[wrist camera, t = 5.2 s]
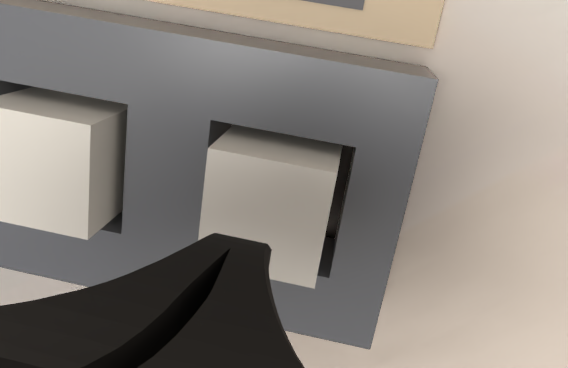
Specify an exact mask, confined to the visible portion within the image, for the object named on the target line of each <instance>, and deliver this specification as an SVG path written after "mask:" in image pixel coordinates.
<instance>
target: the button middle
mask: <svg viewBox="0 0 568 368" xmlns="http://www.w3.org/2000/svg"><path fill="white" fill-rule="evenodd" d="M127 111H128V104H123V103H118V102H112V101H107V100H102V99H97V98H91V97H86V96H81V95H75V94H70V93H65V92H59V91H54V90H49V89H43V88H38V87H31V88H27V89H23V90H19V91H15V92H11V93H7V94H3V95H0V221H1V222H6V223H11V224H15V225H20V226H25V227H29V228H34V229H39V230H43V231H48V232H53V233H57V234H62V235H67V236H71V237H76V238H81V239H85V240H88V239H90V238H91V237H92V236H93V235H94V234H95V233H97V232H98V231H99V230H100V229H101V228H103V227H104V226H105V225H106V224H107V223H108V222H110V221H111V220H112V219H113V218H114V217H116V216H117V215H118V214H119V213H120V212H121V211H123V192H124V172H125V152H126V131H127Z"/></svg>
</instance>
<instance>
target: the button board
mask: <svg viewBox="0 0 568 368" xmlns="http://www.w3.org/2000/svg"><path fill="white" fill-rule="evenodd" d="M437 83H438V78H437V77H436V76H435V75H434V74H433V73H432V72H431V71H430V70H429V69H428V67H425V66H419V65H413V64H407V63H401V62H396V61H390V60H384V59H378V58H372V57H367V56H361V55H355V54H349V53H343V52H338V51H332V50H326V49H320V48H314V47H308V46H303V45H297V44H291V43H285V42H279V41H274V40H268V39H262V38H256V37H250V36H245V35H239V34H233V33H227V32H221V31H216V30H210V29H204V28H198V27H192V26H187V25H181V24H175V23H169V22H163V21H158V20H152V19H146V18H140V17H134V16H129V15H123V14H117V13H111V12H105V11H100V10H94V9H88V8H82V7H76V6H71V5H65V4H59V3H53V2H47V1H41V0H0V95H3V94H7V93H11V92H15V91H19V90H23V89H27V88H31V87H38V88H43V89H49V90H55V91H60V92H65V93H70V94H76V95H81V96H86V97H92V98H97V99H102V100H108V101H113V102H118V103H124V104H128V111H127V131H126V152H125V172H124V192H123V211H121V212H120V213H119V214H118V215H117V216H116V217H114V218H113V219H112V220H111V221H110V222H108V223H107V224H106V225H105V226H104V227H103V228H101V229H100V230H99V231H98V232H97V233H95V234H94V235H93V236H92V237H91V238H90V239H88V240H85V239H81V238H76V237H71V236H67V235H62V234H57V233H53V232H48V231H43V230H39V229H34V228H29V227H25V226H20V225H15V224H11V223H6V222H1V221H0V267H2V268H7V269H11V270H16V271H20V272H25V273H29V274H34V275H38V276H43V277H47V278H51V279H56V280H60V281H65V282H69V283H74V284H78V285H83V286H87V287H91V286H94V285H97V284H101V283H104V282H107V281H110V280H113V279H116V278H118V277H121V276H124V275H126V274H129V273H131V272H133V271H136V270H138V269H140V268H143V267H145V266H147V265H150V264H152V263H154V262H157V261H159V260H161V259H163V258H165V257H167V256H169V255H171V254H173V253H175V252H177V251H179V250H181V249H183V248H185V247H187V246H189V245H191V244H193V243H195V242H197V241H198V236H199V226H200V217H201V208H202V198H203V189H204V179H205V170H206V161H207V151H208V148H209V147H210V146H211V145H212V144H213V143H214V142H215V141H216V140H217V139H218V138H220V137H221V136H222V135H223V134H224V133H225V132H226V131H227V130H228V129H229V128H231V127H232V124H235V125H240V126H246V127H251V128H256V129H262V130H267V131H272V132H277V133H283V134H288V135H293V136H299V137H304V138H309V139H315V140H320V141H325V142H331V143H336V144H341V145H346V146H352V147H354V148H353V153H352V158H351V163H350V168H349V173H348V177H347V182H346V187H345V192H344V197H343V202H342V207H341V211H340V216H339V221H338V226H337V231H336V236H335V239H333V238H328V237H325V238H324V243H323V248H322V254H321V259H320V264H319V269H318V274H317V279H316V284H315V289H314V288H309V287H304V286H300V285H295V284H290V283H286V282H281V281H276V280H272V279H270V283H271V289H272V294H273V298H274V302H275V305H276V309H277V312H278V315H279V318H280V321H281V323H282V326H283V328H284V330H285V331H289V332H294V333H298V334H303V335H307V336H312V337H316V338H320V339H325V340H329V341H334V342H338V343H343V344H347V345H352V346H356V347H361V348H365V349H370V348H371V344H372V340H373V336H374V332H375V328H376V324H377V320H378V316H379V312H380V309H381V305H382V301H383V297H384V293H385V289H386V285H387V281H388V277H389V273H390V269H391V265H392V261H393V257H394V253H395V249H396V245H397V241H398V237H399V233H400V229H401V226H402V222H403V218H404V214H405V210H406V206H407V202H408V198H409V194H410V190H411V186H412V182H413V178H414V174H415V170H416V166H417V162H418V158H419V154H420V150H421V146H422V143H423V139H424V135H425V131H426V127H427V123H428V119H429V115H430V111H431V107H432V103H433V99H434V95H435V91H436V87H437Z"/></svg>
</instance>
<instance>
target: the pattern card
mask: <svg viewBox="0 0 568 368" xmlns="http://www.w3.org/2000/svg"><path fill="white" fill-rule="evenodd" d="M146 1H152V2H158V3H163V4H169V5H175V6H181V7H187V8H193V9H199V10H205V11H211V12H217V13H223V14H228V15H234V16H240V17H246V18H252V19H258V20H264V21H270V22H276V23H282V24H288V25H294V26H299V27H305V28H311V29H317V30H323V31H329V32H335V33H341V34H347V35H353V36H359V37H365V38H370V39H376V40H382V41H388V42H394V43H400V44H406V45H412V46H418V47H424V48H430V49H433V46H434V42H435V37H436V33H437V29H438V25H439V21H440V17H441V13H442V9H443V5H444V1H445V0H146Z"/></svg>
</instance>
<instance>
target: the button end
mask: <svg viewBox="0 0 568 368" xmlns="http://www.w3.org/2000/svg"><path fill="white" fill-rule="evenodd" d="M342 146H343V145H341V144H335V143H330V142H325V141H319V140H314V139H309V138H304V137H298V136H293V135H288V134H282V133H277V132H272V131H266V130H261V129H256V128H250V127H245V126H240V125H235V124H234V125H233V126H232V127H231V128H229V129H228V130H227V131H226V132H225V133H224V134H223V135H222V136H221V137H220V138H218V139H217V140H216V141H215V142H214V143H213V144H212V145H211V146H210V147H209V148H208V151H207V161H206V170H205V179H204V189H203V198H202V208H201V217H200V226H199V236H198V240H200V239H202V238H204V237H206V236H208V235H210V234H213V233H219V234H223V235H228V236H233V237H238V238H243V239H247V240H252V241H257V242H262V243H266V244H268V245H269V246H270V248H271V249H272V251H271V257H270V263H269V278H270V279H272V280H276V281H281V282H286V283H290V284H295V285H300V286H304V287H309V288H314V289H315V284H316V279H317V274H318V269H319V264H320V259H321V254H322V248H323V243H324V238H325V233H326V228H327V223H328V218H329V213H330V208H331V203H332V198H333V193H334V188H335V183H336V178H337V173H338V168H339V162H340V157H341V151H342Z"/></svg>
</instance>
